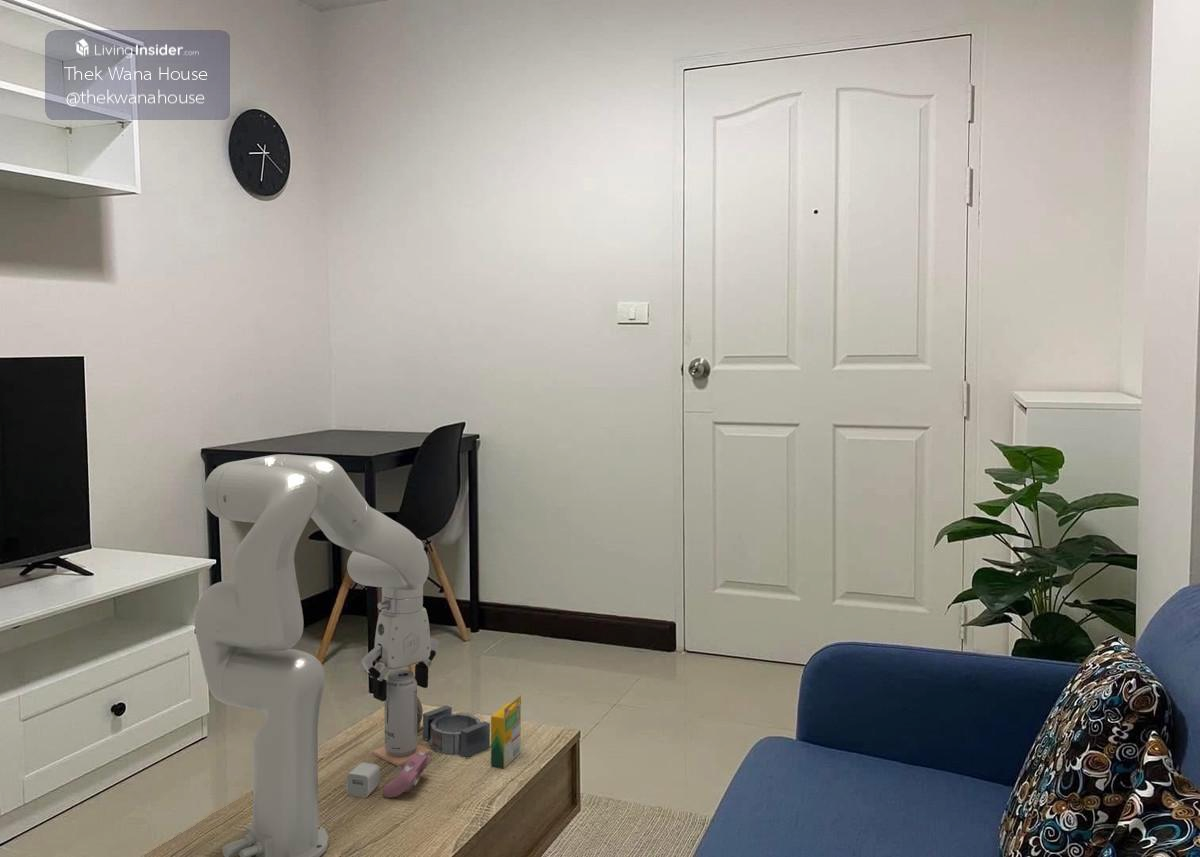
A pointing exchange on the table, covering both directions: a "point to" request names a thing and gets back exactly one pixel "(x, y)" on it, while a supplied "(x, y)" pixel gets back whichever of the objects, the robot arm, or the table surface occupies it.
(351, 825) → the table surface
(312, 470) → the robot arm
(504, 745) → the crayon box
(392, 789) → the video game controller
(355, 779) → the usb wall charger
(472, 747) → the ring holder
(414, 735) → the energy drink can
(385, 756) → the coaster
